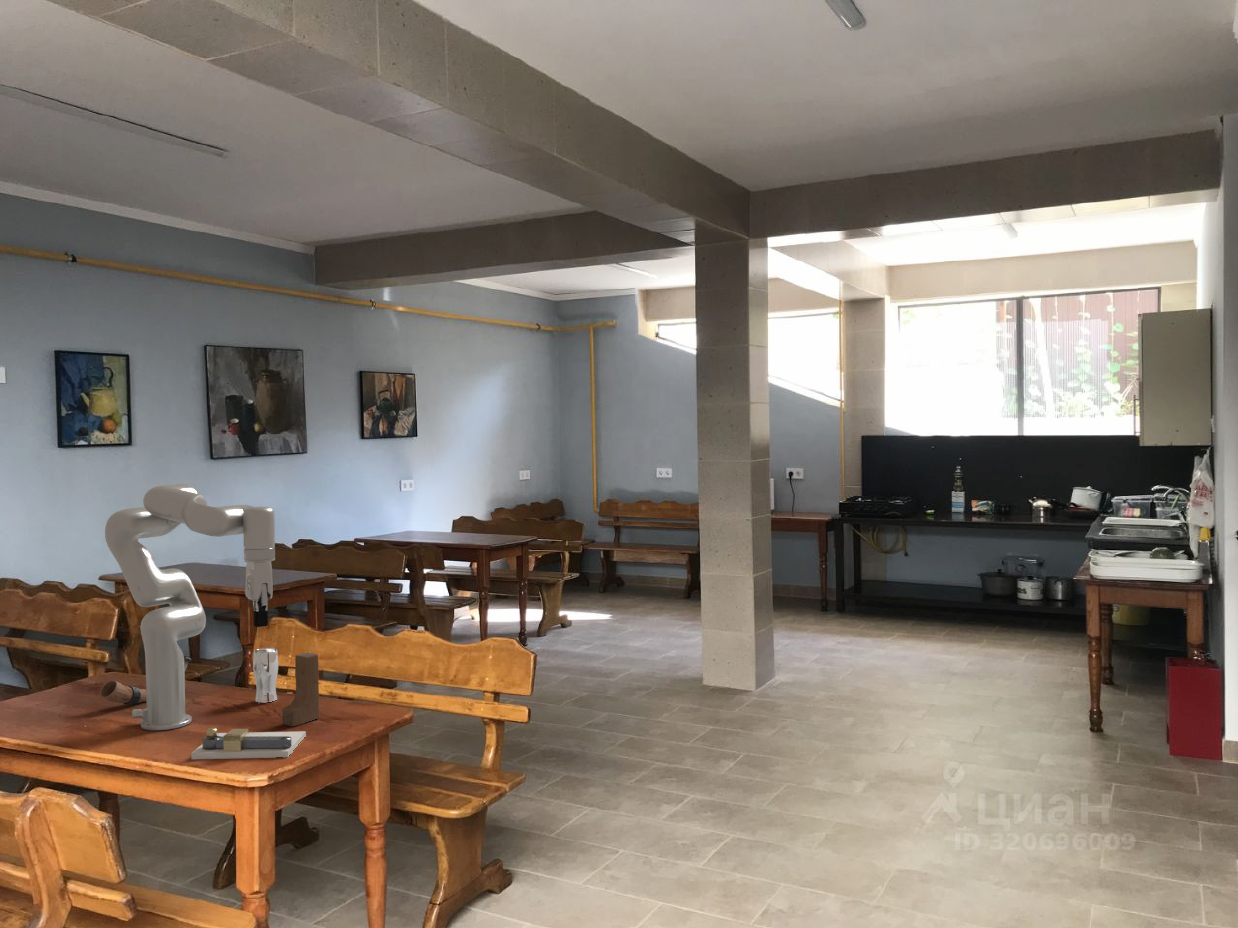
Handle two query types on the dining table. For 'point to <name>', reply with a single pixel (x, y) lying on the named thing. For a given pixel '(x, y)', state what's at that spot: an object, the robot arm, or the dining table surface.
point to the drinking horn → (126, 691)
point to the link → (250, 742)
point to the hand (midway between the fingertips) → (260, 625)
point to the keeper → (230, 738)
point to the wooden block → (304, 692)
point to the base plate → (252, 752)
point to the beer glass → (265, 674)
